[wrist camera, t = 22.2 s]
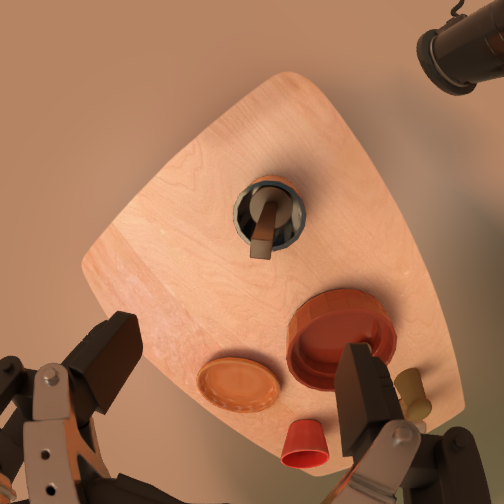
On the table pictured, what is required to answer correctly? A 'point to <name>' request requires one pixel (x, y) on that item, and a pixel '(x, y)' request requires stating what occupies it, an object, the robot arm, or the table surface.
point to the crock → (282, 234)
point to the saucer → (238, 385)
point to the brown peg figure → (413, 394)
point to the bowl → (335, 334)
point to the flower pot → (305, 445)
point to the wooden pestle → (268, 217)
